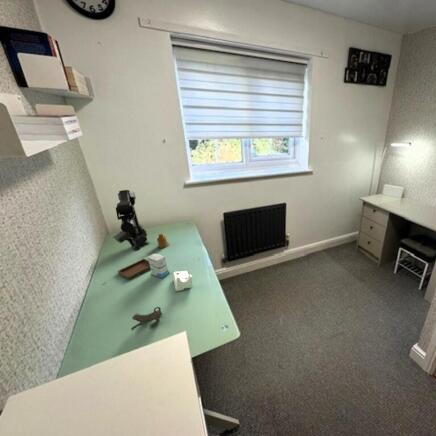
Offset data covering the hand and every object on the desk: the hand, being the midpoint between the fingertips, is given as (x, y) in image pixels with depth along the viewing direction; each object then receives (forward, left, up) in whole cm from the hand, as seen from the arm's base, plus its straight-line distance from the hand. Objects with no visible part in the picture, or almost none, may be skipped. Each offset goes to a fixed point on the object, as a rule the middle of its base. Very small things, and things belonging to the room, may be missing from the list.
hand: (136, 249), depth 138 cm
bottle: (-12, +22, -12) cm, 27 cm away
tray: (+1, -3, -12) cm, 13 cm away
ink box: (+16, +2, -12) cm, 21 cm away
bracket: (+34, +4, -12) cm, 37 cm away
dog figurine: (+46, -22, -12) cm, 52 cm away
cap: (0, 0, +2) cm, 2 cm away
